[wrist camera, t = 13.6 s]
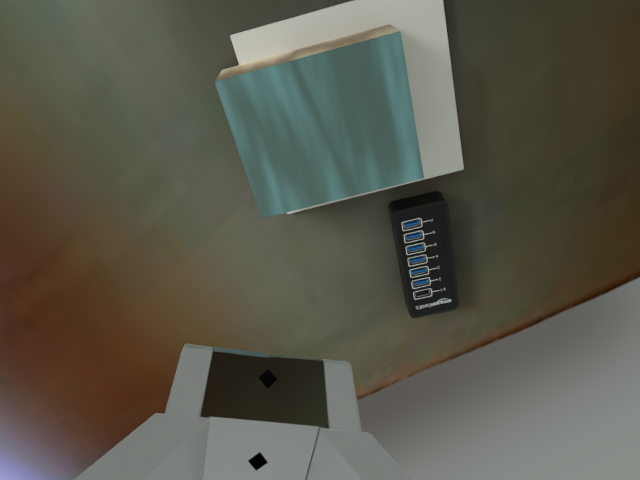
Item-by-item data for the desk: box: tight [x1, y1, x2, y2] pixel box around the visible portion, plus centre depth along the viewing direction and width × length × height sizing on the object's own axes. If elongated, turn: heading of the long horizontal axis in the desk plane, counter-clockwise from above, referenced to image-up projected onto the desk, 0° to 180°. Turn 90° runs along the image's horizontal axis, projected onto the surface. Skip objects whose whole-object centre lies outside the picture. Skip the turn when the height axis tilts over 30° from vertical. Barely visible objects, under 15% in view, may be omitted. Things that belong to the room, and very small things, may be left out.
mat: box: [230, 0, 464, 214], centre depth 38 cm, size 14×14×1 cm
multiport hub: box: [389, 191, 459, 318], centre depth 44 cm, size 4×11×2 cm, turn 13°
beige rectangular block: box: [215, 24, 424, 219], centre depth 36 cm, size 4×10×12 cm
